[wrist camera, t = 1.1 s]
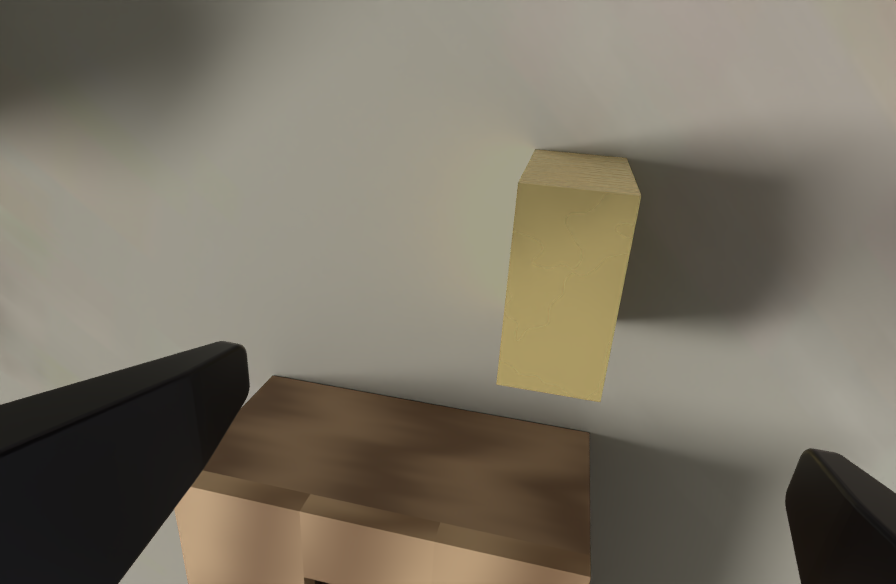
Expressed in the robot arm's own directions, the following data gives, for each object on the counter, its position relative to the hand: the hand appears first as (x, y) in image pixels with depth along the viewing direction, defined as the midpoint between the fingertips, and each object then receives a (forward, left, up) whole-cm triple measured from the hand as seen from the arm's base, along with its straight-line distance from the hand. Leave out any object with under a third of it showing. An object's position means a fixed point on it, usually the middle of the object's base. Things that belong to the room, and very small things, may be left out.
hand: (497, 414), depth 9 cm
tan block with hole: (+4, +16, -12) cm, 20 cm away
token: (-1, +1, -12) cm, 12 cm away
